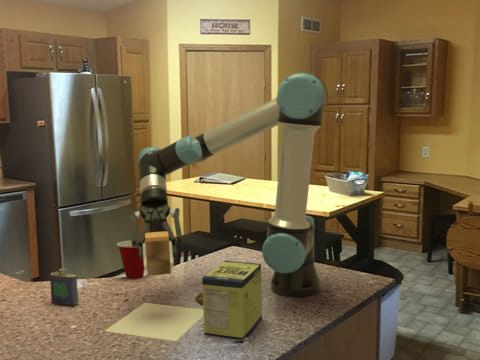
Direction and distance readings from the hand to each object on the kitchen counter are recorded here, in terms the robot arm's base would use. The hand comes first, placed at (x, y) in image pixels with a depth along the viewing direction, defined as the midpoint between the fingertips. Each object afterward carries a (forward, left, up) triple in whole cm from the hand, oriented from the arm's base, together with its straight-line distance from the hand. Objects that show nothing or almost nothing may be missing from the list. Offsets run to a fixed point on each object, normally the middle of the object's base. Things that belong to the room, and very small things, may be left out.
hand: (158, 266), depth 136 cm
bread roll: (-9, -18, -16) cm, 26 cm away
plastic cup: (+28, -33, -16) cm, 46 cm away
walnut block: (+2, -3, -2) cm, 4 cm away
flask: (+35, -5, -16) cm, 39 cm away
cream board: (+1, 0, -16) cm, 16 cm away
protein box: (-19, -3, -16) cm, 25 cm away
